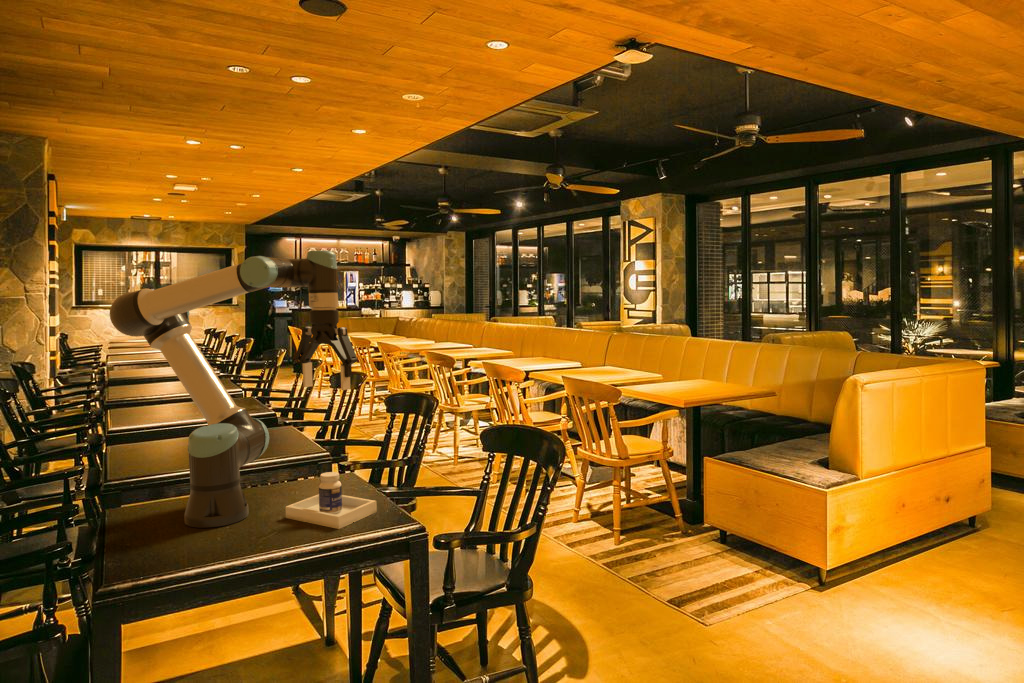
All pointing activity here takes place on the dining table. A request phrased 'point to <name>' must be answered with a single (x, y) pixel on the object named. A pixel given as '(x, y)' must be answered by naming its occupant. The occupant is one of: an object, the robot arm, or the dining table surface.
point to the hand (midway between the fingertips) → (326, 388)
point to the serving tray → (350, 513)
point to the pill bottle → (330, 493)
